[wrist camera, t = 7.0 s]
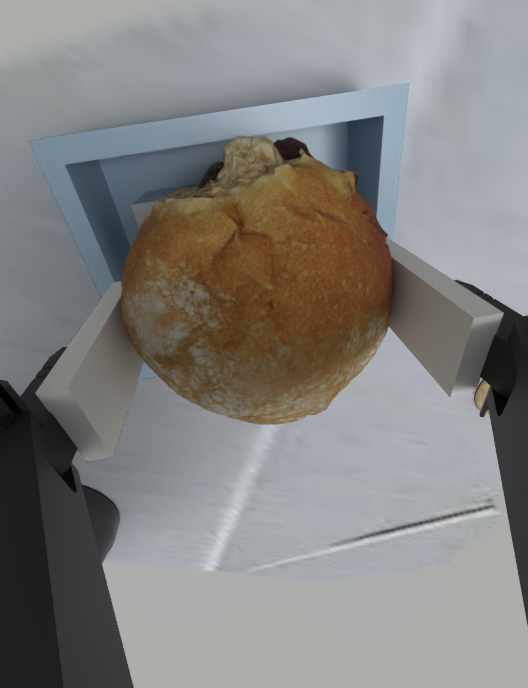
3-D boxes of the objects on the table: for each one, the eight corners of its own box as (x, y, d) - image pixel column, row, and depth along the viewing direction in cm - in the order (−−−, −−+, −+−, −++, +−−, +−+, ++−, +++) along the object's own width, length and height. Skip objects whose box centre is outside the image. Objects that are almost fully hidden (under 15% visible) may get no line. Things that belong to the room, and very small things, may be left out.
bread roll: (140, 275, 17) (84, 422, 12) (179, 37, 9) (57, 221, 4) (302, 329, 20) (302, 461, 16) (442, 191, 12) (522, 386, 7)
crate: (153, 334, 25) (139, 379, 20) (77, 138, 17) (28, 140, 13) (352, 300, 25) (382, 337, 21) (360, 95, 18) (409, 83, 13)
